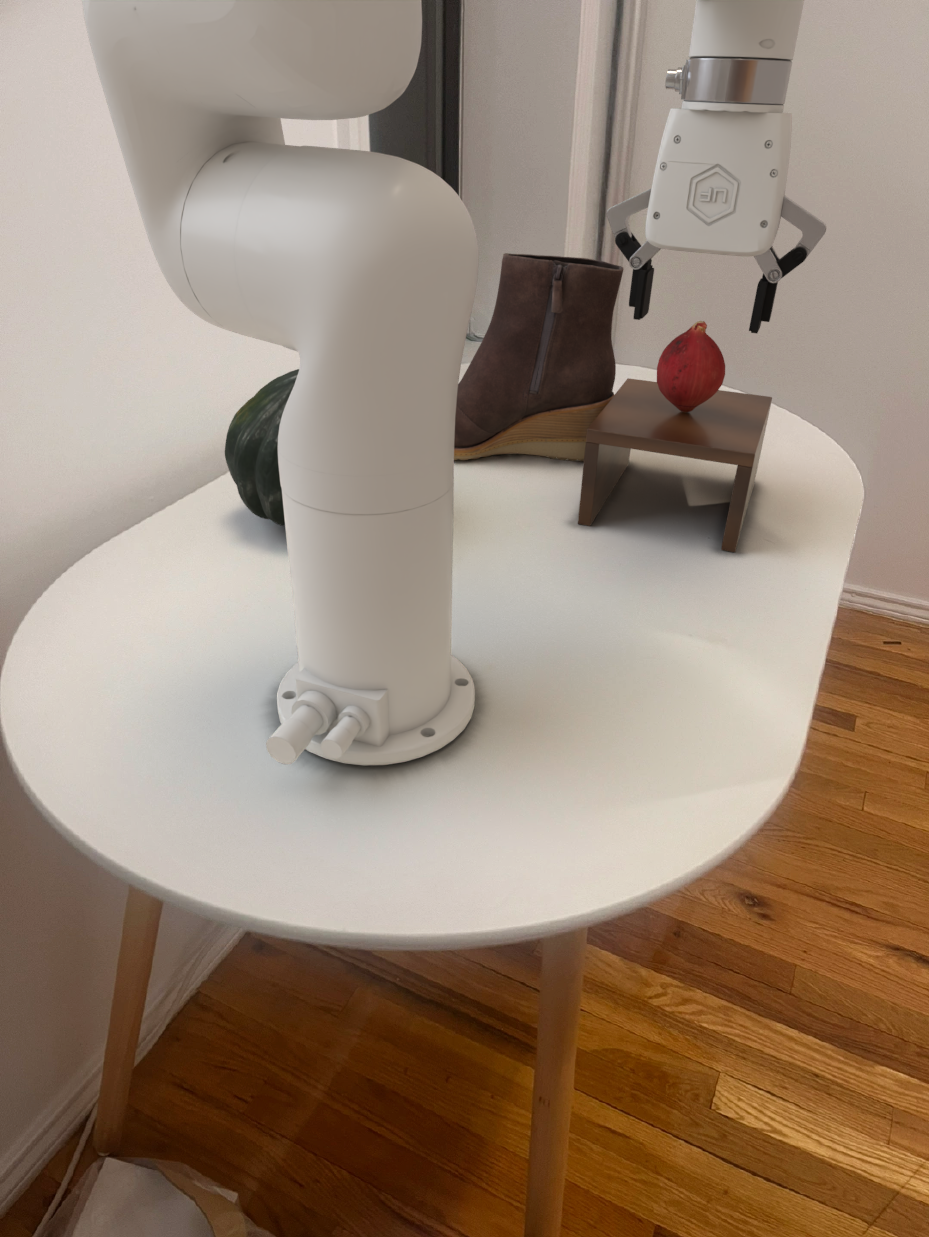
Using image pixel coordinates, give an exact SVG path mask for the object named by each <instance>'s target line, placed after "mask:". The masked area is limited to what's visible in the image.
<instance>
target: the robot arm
mask: <svg viewBox="0 0 929 1237" xmlns="http://www.w3.org/2000/svg"><path fill="white" fill-rule="evenodd" d="M81 4H82V12H83V19H84V24H85V29H86V34H87V37H88V42H89V45H90V49H91V52H92V56H93V60H94V63H95V68H96V70H97V71H96V72H97V74H98V77H99V78H98V79H99V81H100V84H101V88H102V91H103V94H104V95H103V96H104V98H105V101H106V105H107V108H108V111H109V115H110V118H111V121H112V124H113V128H114V131H115V135H116V139H117V142H118V144H119V149H120V151H121V154H122V158H123V162H124V165H125V168H126V171H127V174H128V178H129V182H130V184H131V188H132V191H133V194H134V197H135V202H136V203H137V207H138V211H139V213H140V216H141V220H142V223H143V226H144V229H145V232H146V235H147V239H148V242H149V244H150V247H151V250H152V252H153V255H154V257H155V260H156V263H157V264H158V266H159V269H160V271H161V273H162V275H163V277H164V279H165V281H166V282H167V285H168V286H169V287H170V288H171V291H172V292H173V293H174V294H175V296H176V297H177V298H178V299H179V301H180V302H181V303H182V304H183V305H184V306H185V307H186V308H187V309H188V310H189V311H190V312H192V313H193V314H194V315H195V316H197V317H198V318H200V319H201V320H203V321H204V322H207V323H208V324H211V325H213V326H214V327H217V328H220V329H222V330H225V331H228V332H232V333H235V334H239V335H241V336H245V337H248V338H252V339H256V340H260V341H264V342H267V343H271V344H275V345H278V346H282V347H283V348H286V349H288V350H292V351H295V352H298V356H299V368H298V369H299V372H298V375H297V378H296V381H295V385H294V387H293V389H292V391H291V394H290V396H289V398H288V401H287V403H286V406H285V409H284V411H283V414H282V418H281V422H280V426H279V433H278V465H279V475H280V485H281V488H282V498H283V508H284V518H285V526H284V528H285V538H286V539H285V540H286V548H287V558H288V559H287V560H288V570H289V576H290V577H289V579H290V590H291V599H292V610H293V611H292V612H293V620H294V631H295V640H296V642H295V643H296V651H297V662H295V663H294V664H293V665H292V666H291V667H290V668H289V669H288V670H287V671H286V672H285V673H284V674H285V675H284V676H283V678H282V679H281V681H280V683H279V686H278V689H277V693H276V705H277V706H276V708H277V713H278V719H279V722H280V725H279V726H278V728H276V730H275V731H274V732H273V733H272V734H271V735H270V736H269V737H268V739H267V740H266V742H265V745H266V751H267V752H268V755H269V756H270V757H271V758H272V759H274V760H275V761H276V762H278V763H280V764H283V765H293V763H295V762H296V761H297V760H298V759H299V757H300V756H301V755H302V753H303V752H304V751H305V750H306V751H307V752H309V753H311V754H314V755H316V756H319V757H321V758H323V759H326V760H330V761H334V762H337V763H341V764H348V765H355V766H387V765H393V764H401V763H405V762H410V761H413V760H416V759H419V758H422V757H425V756H428V755H429V754H432V753H434V752H436V751H439V750H441V749H442V748H444V747H446V746H447V745H448V744H450V743H451V742H453V741H454V740H455V739H456V738H457V737H458V736H459V735H460V734H461V733H462V732H463V731H464V730H465V729H466V727H467V726H468V724H469V723H470V721H471V719H472V717H473V713H474V709H475V701H476V700H475V698H476V688H475V683H474V679H473V678H472V676H471V673H470V672H469V670H468V669H467V667H466V666H465V665H464V664H463V663H462V662H461V661H460V660H459V659H458V658H457V657H456V656H454V655H453V654H452V633H453V632H452V625H453V624H452V622H453V621H452V620H453V562H454V560H453V559H454V558H453V556H454V554H453V553H454V508H455V507H454V504H455V502H454V501H455V500H454V499H455V477H454V474H455V460H454V438H455V415H456V402H457V390H458V384H459V382H460V374H461V367H462V365H461V364H462V361H463V356H464V350H465V344H466V340H467V335H468V330H469V325H470V321H471V317H472V311H473V307H474V302H475V298H476V290H477V285H478V278H479V277H478V276H479V265H480V255H479V253H480V252H479V243H478V237H477V232H476V229H475V225H474V222H473V219H472V216H471V214H470V212H469V210H468V208H467V207H466V206H467V205H465V203H464V202H463V200H462V199H461V197H460V196H459V194H458V192H456V190H454V188H453V187H452V186H451V185H450V184H449V183H447V182H446V181H445V180H444V179H443V178H441V176H439V175H438V174H437V173H435V172H433V171H432V170H430V169H428V168H426V167H425V166H422V165H421V164H418V163H416V162H415V161H410V160H408V159H405V158H402V157H400V156H396V155H391V154H386V153H382V152H376V151H368V150H361V149H360V150H359V149H350V148H348V149H347V148H339V147H338V148H337V147H326V146H314V145H289V144H286V142H285V136H284V130H283V125H282V119H285V120H299V121H300V120H302V121H304V120H305V121H335V120H337V121H338V120H347V119H349V120H350V119H357V118H362V117H365V116H369V115H372V114H374V113H378V112H380V111H383V110H384V109H386V108H388V107H389V106H390V105H392V104H393V103H394V102H395V101H396V100H397V99H399V98H400V97H401V96H402V95H403V94H404V93H405V91H406V90H407V89H408V86H409V84H410V83H411V81H412V79H413V77H414V75H415V72H416V69H417V67H418V64H419V58H420V53H421V47H422V37H423V34H422V33H423V32H422V31H423V9H422V8H423V6H422V0H81ZM804 4H805V0H696V1H695V5H694V6H695V8H694V14H693V15H694V16H693V19H692V20H693V21H692V28H691V29H692V30H691V36H690V42H689V48H688V49H689V50H688V56H687V57H688V59H687V58H686V59H685V64H682V66H681V67H678V68H677V69H675V68H674V69H673V68H669V69H667V71H666V77H665V85H664V87H665V90H674V92H678V95H680V100H682V101H681V107H672V108H670V109H669V113H668V115H667V118H666V121H665V126H664V128H663V133H662V137H661V140H660V144H659V148H658V153H657V158H656V163H655V167H654V171H653V172H654V173H653V178H652V183H651V188H649V189H647V190H645V191H643V192H641V193H638V194H636V195H634V196H632V197H630V198H628V199H626V200H624V201H622V202H620V203H617V204H615V205H614V206H611V207H610V208H608V209H607V211H606V218H607V221H608V223H609V226H610V230H611V232H612V235H613V237H614V242H615V245H616V247H617V248H618V249H619V251H620V252H621V254H622V255H623V256H624V257H625V259H626V260H627V262H628V264H629V267H630V269H632V274H631V283H630V290H629V298H628V307H629V308H633V309H634V310H633V320H637V321H640V320H643V319H644V318H645V317H646V316H647V315H648V314H649V311H650V305H651V304H650V303H651V296H652V288H653V283H654V282H653V281H654V276H655V275H654V274H655V267H654V266H653V265H652V261H653V260H652V259H653V258H654V257H655V256H656V255H657V254H658V253H659V252H660V251H661V250H667V251H677V252H684V253H685V252H686V253H698V254H709V255H718V256H719V255H721V256H730V257H731V256H732V257H747V258H748V257H753V258H754V260H755V261H756V263H757V265H758V267H759V268H760V270H761V272H762V277H761V278H760V279H759V281H758V283H757V287H756V291H755V297H754V302H753V307H752V311H751V316H750V323H749V328H748V332H750V333H751V334H758V333H759V331H760V328H761V326H762V322H765V323H770V321H771V317H772V312H773V308H774V303H775V298H776V294H777V288H778V283H779V281H781V279H783V278H784V277H786V276H787V275H788V274H789V273H791V272H792V271H794V270H795V269H796V268H797V267H799V266H800V265H801V264H803V263H804V262H805V261H806V259H807V258H808V257H809V255H810V254H811V252H812V251H813V250H814V249H815V248H816V246H817V245H818V243H819V242H820V241H821V239H822V238H823V237H824V236H825V234H826V233H827V230H828V229H827V228H828V227H827V223H825V222H824V221H822V220H821V219H820V218H818V217H817V216H815V215H814V214H813V213H812V212H810V211H809V210H807V209H806V208H805V207H802V206H801V205H799V203H797V202H796V201H795V200H793V199H791V198H790V197H788V196H787V195H786V188H787V183H788V182H787V181H788V172H789V168H790V167H789V165H790V158H791V156H790V155H791V148H792V134H793V133H792V132H793V113H792V112H784V108H785V103H786V97H787V93H788V87H789V81H790V77H791V72H792V66H793V60H794V55H795V52H796V46H797V41H798V40H797V39H798V33H799V30H800V24H801V19H802V14H803V9H804ZM645 209H647V211H646V219H645V228H644V232H645V233H644V235H645V240H646V241H645V242H644V243H643V244H641V243H640V242H639V240H638V239H637V238H636V236H635V235H634V233H633V232H632V231H631V228H630V224H629V219H630V217H631V216H633V215H634V214H637V213H639V212H642V211H643V210H645ZM782 219H784V220H785V221H786V222H788V223H789V224H791V225H793V227H795V228H797V229H799V230H800V232H801V233H802V237H801V238H800V239H799V241H797V242H798V243H797V244H796V245H795V246H794V247H793V248H792V249H790V250H789V251H788V252H787V253H786V254H784V255H782V256H781V258H780V257H779V254H778V253H777V251H776V250H775V248H774V246H773V244H774V242H775V240H776V238H777V235H778V231H779V228H780V223H781V220H782Z"/></svg>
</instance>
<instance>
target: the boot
mask: <svg viewBox="0 0 929 1237" xmlns="http://www.w3.org/2000/svg"><path fill="white" fill-rule="evenodd" d="M624 270H625V269H624V266H621V265H617V264H613V263H610V262H607V261H604V260H598V259H593V258H588V257H574V256H561V255H560V256H559V255H543V254H542V255H541V254H531V253H530V254H529V253H509V252H505V253H503V255H502V259H501V267H500V274H499V282H498V288H497V293H496V294H497V295H496V298H495V299H496V300H495V303H494V304H495V305H494V309H493V313H492V317H491V320H490V323H489V324H488V327H487V330H486V332H485V333H484V336H483V338H482V341H481V342H480V345H479V346H478V348H477V350H476V352H475V354H474V356H473V357H472V359H471V361H470V363H469V365H468V366H467V368H466V370H465V372H464V374H463V375H462V378H461V380H459V382H458V390H457V402H456V415H455V438H454V461H459V460H460V461H468V460H477V459H480V458H486V457H491V456H494V455H507V454H511V455H512V454H514V455H529V456H539V457H547V458H548V459H550V460H551V459H552V460H556V459H558V460H562V461H571V462H576V461H579V462H584V455H585V444H586V435H587V429H588V428H589V426H590V425H591V424H592V423H593V421H594V420H595V419H596V418H597V416H598V415H599V414H600V412H601V411H602V410H603V409H604V407H605V406H606V405H607V404H608V402H609V401H610V400H611V399H612V397H613V396H614V395H615V393H614V391H613V390H614V386H615V381H616V375H617V374H616V373H617V372H616V371H617V370H616V369H617V365H616V358H615V351H614V347H613V341H612V326H613V316H614V310H615V306H616V302H617V298H618V293H619V289H620V285H621V282H622V278H623V274H624Z"/></svg>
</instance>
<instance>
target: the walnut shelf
mask: <svg viewBox="0 0 929 1237" xmlns="http://www.w3.org/2000/svg"><path fill="white" fill-rule="evenodd" d="M772 400H773V397H772V396H767V395H760V394H752V393H745V392H744V393H743V392H736V391H729V390H722V389H721V390H720V389H719V390H718V391H717V392H716V393H715V394H714V395H713V396H712V397H711V398H709V399H708V400H707V401H705V402H704V403H702V404H700V405H698V406H697V407H696V408H694V409H693V410H692V411H690V412H686V413H685V412H682V411H680V410H679V409H678V408H676V407H675V406H674V405H673V404H672V403H671V402H669V401H668V400H667V399H666V398H665V397H664V395H663V394H662V393H661V392H660V390H659V387H658V384H657V381H651V380H644V379H636V378H629V377H627V379H626V380H625V381H624V382H623V383H622V385H621V386H620V387H619V389H618V390H617V391H616V392H615V393H614V396H613V397H612V399H611V400H610V401H609V402H608V404H607V405H606V406H605V407H604V409H603V410H602V411H601V412H600V414H599V415H598V416H597V418H596V419H595V420H594V421H593V423H592V424H591V425H590V426H589V428H588V429H587V435H586V444H585V455H584V461H583V465H582V466H583V467H582V476H581V484H580V485H581V487H580V495H579V507H578V516H577V524H578V525H582V526H586V527H587V526H588V527H591V526H592V524H593V523H594V521H595V519H596V517H597V516H598V514H599V512H600V511H601V510H602V508H603V507H604V505H605V503H606V502H607V500H608V498H609V496H610V495H611V493H612V492H613V491H614V489H615V487H616V485H617V484H618V482H619V481H620V479H621V477H622V476H623V474H624V472H625V471H626V470H627V468H628V466H629V462H630V457H631V456H630V455H631V450H635V451H636V450H637V451H642V452H648V453H649V452H650V453H656V454H662V455H670V456H676V457H683V458H688V459H694V460H700V461H708V462H715V463H720V464H721V463H722V464H727V465H734V466H737V467H736V470H735V476H734V482H733V486H732V491H731V495H730V496H731V497H730V502H729V507H728V512H727V517H726V522H725V528H724V532H723V537H722V542H721V548H720V551H724V552H729V553H730V552H731V553H736V551H737V546H738V543H739V540H740V537H741V533H742V530H743V526H744V523H745V518H746V515H747V512H748V508H749V504H750V500H751V497H752V493H753V490H754V486H755V483H756V482H755V481H756V477H757V472H758V468H759V463H760V460H761V459H760V458H761V454H762V449H763V445H764V444H763V443H764V439H765V434H766V430H767V425H768V420H769V415H770V411H771V406H772V403H773V402H772Z"/></svg>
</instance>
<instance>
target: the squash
mask: <svg viewBox="0 0 929 1237" xmlns="http://www.w3.org/2000/svg"><path fill="white" fill-rule="evenodd" d="M298 372H299V368H297V369H294V370H291V371H288V372H287V373H283V374H282V375H280V376H277V377H276V378H274V379H272V380H270V381H269V382H268V383H267V384H265V385H264V386H262V388H260V389H259V390H258V391H257V392H256V393H255V395H253V396H252V397H250V398H249V399H248V400H247V401H246V402H245V403H244V404H243V405H242V406H241V407H240V408H239V409H238V410H237V411H236V413H234V415H233V417H232V419H231V421H230V423H229V425H228V429H227V433H226V438H225V444H224V458H225V464H226V465H227V468H228V471H229V474H230V476H231V478H232V481H233V482H234V484H235V485H236V488H237V493H238V495H239V498H240V499H241V501H242V502H243V504H244V506H246V508H247V509H248V510H249V511H250V512H251V513H252V514H253V515H255V516H256V517H259V518H260V519H264V520H271V521H272V522H274V523H275V524H276V525H278V526H282V527H285V518H284V508H283V498H282V488H281V485H280V475H279V465H278V433H279V426H280V422H281V418H282V414H283V411H284V409H285V406H286V403H287V401H288V398H289V396H290V394H291V391H292V389H293V387H294V385H295V381H296V378H297V375H298Z"/></svg>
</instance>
